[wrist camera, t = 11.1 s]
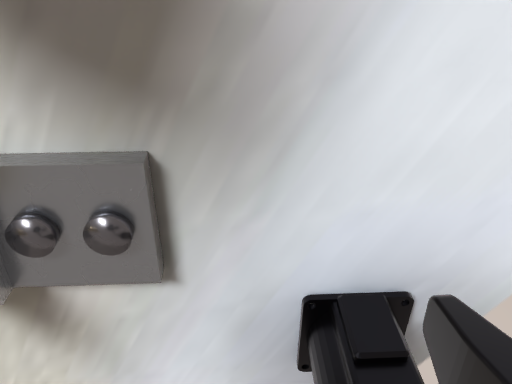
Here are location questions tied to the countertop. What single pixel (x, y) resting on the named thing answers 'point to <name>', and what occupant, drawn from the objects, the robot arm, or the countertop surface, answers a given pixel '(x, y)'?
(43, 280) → the lower chain end
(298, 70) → the countertop surface
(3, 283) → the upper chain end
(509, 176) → the countertop surface
